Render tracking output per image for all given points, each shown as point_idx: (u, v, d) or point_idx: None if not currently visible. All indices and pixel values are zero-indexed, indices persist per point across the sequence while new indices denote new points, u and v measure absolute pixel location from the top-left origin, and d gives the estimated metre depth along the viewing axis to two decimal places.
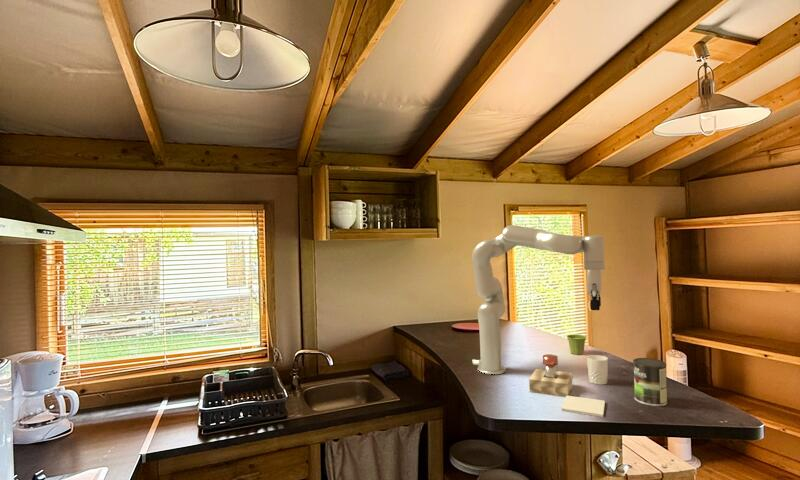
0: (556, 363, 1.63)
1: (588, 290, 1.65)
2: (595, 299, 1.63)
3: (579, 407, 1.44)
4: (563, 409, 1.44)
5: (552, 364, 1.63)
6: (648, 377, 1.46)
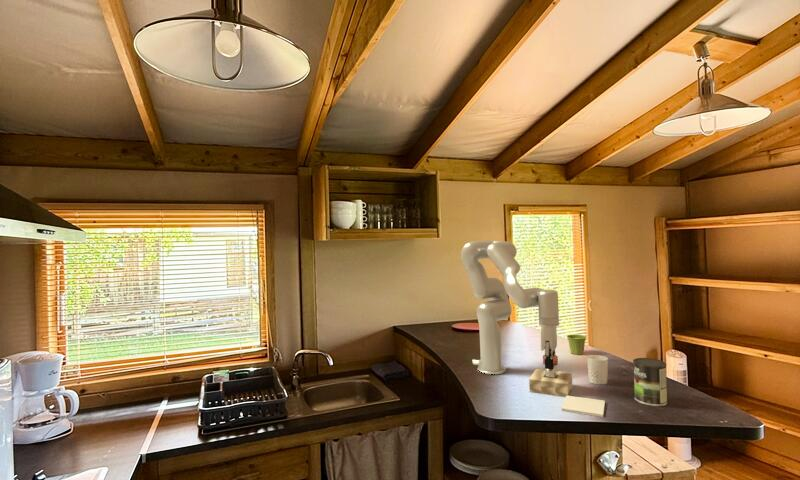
0: (556, 363, 1.63)
1: (541, 347, 1.62)
2: (549, 359, 1.62)
3: (579, 407, 1.44)
4: (563, 409, 1.44)
5: None
6: (648, 377, 1.46)
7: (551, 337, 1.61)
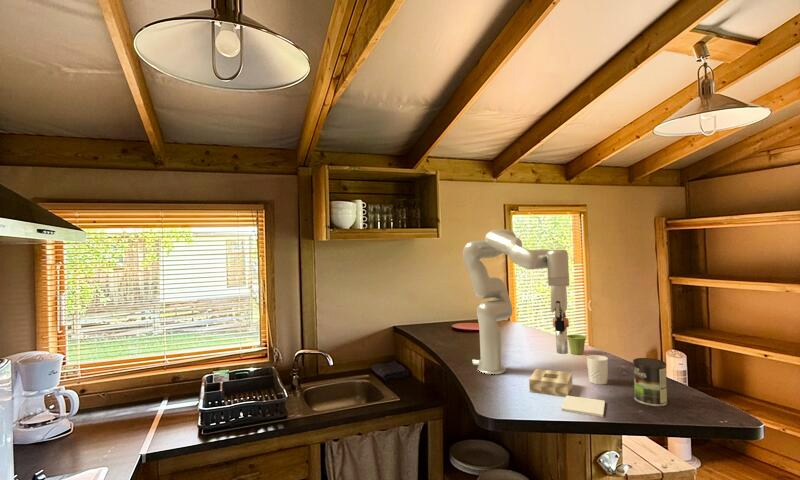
0: (567, 325, 1.56)
1: (552, 308, 1.55)
2: (560, 320, 1.54)
3: (579, 407, 1.44)
4: (563, 409, 1.44)
5: None
6: (648, 377, 1.46)
7: (562, 297, 1.54)
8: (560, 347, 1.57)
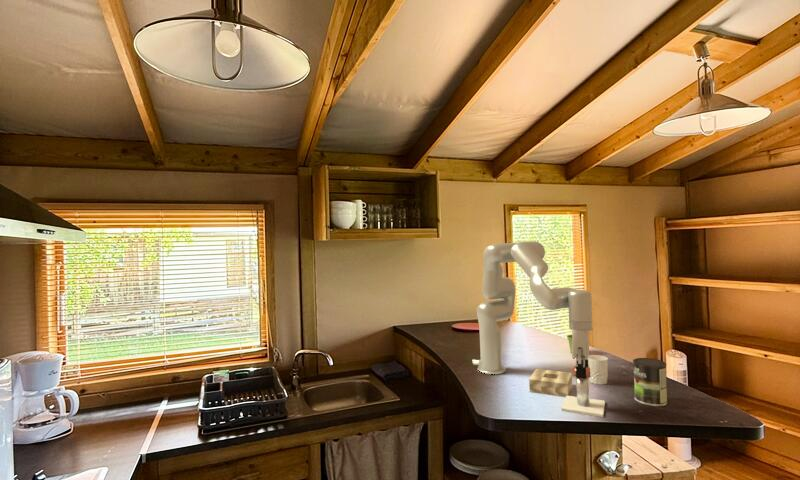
0: (589, 375, 1.45)
1: (573, 354, 1.44)
2: (581, 366, 1.42)
3: (579, 407, 1.44)
4: (563, 409, 1.44)
5: None
6: (648, 377, 1.46)
7: (584, 343, 1.42)
8: (581, 399, 1.46)
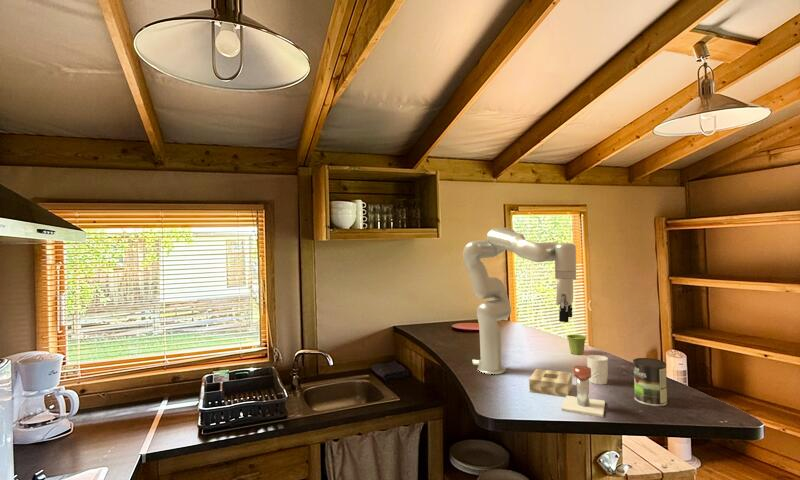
0: (589, 376, 1.45)
1: (557, 301, 1.58)
2: (564, 311, 1.55)
3: (579, 407, 1.44)
4: (563, 409, 1.44)
5: (585, 377, 1.44)
6: (648, 377, 1.46)
7: (567, 290, 1.56)
8: (581, 399, 1.46)
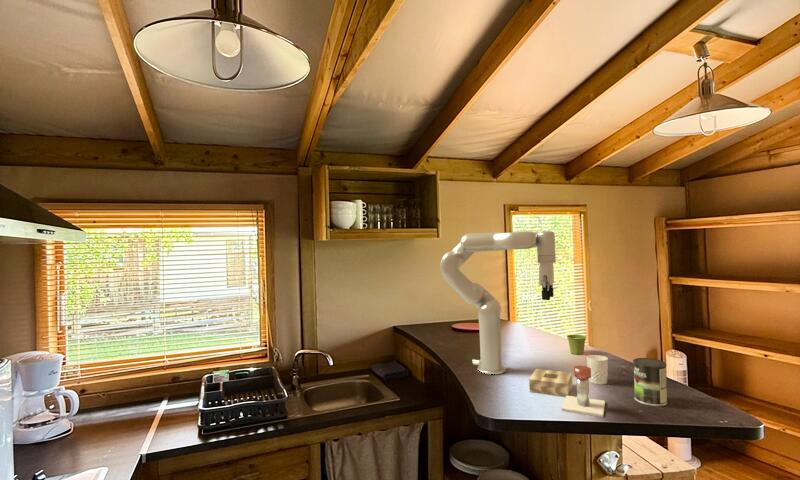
0: (589, 376, 1.45)
1: (540, 281, 1.80)
2: (545, 290, 1.77)
3: (579, 407, 1.44)
4: (563, 409, 1.44)
5: (585, 377, 1.44)
6: (648, 377, 1.46)
7: (548, 272, 1.78)
8: (581, 399, 1.46)
